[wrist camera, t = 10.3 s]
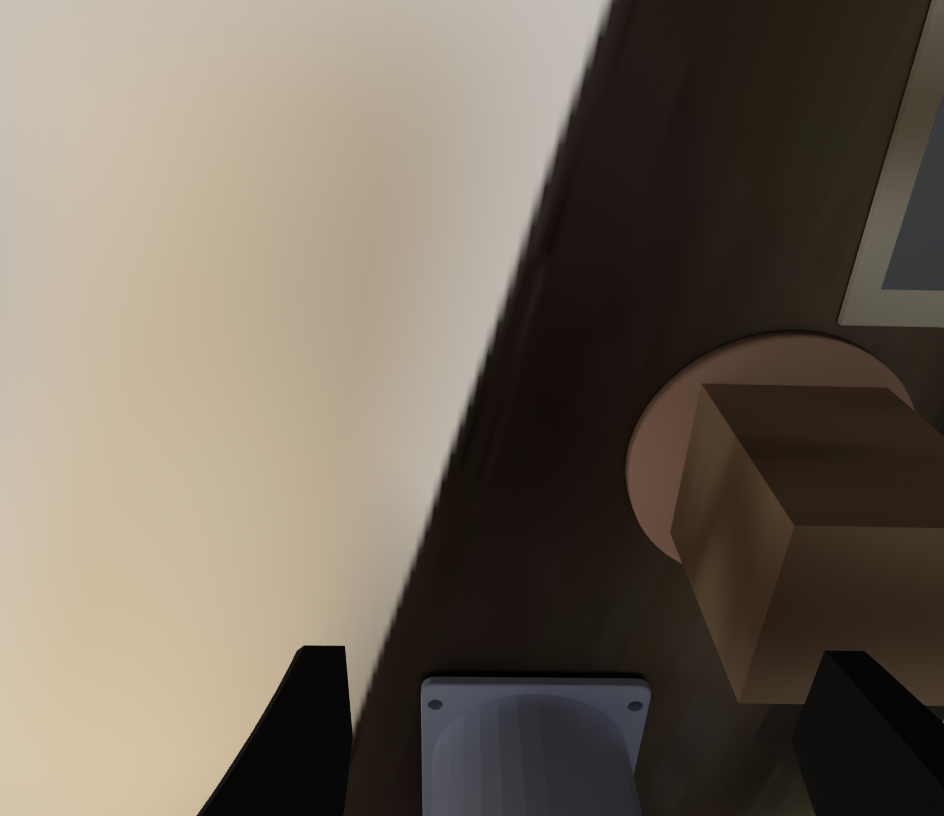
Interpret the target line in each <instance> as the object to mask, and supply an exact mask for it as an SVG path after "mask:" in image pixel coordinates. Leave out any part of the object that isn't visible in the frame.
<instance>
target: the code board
mask: <svg viewBox="0 0 944 816" xmlns="http://www.w3.org/2000/svg"><path fill="white" fill-rule="evenodd" d="M838 323H839V324H840V325H856V326H906V327H944V0H932V1H931V5H930V8H929V11H928V15H927V18H926V22H925V25H924V28H923V32H922V35H921V39H920V42H919V45H918V49H917V52H916V56H915V59H914V63H913V66H912V69H911V73H910V76H909V80H908V83H907V86H906V90H905V93H904V97H903V100H902V103H901V107H900V110H899V114H898V117H897V120H896V124H895V127H894V131H893V134H892V137H891V141H890V144H889V148H888V151H887V155H886V158H885V161H884V165H883V168H882V172H881V175H880V178H879V182H878V185H877V189H876V192H875V195H874V199H873V202H872V206H871V209H870V212H869V216H868V219H867V223H866V226H865V229H864V233H863V236H862V240H861V243H860V247H859V250H858V253H857V257H856V260H855V264H854V267H853V270H852V274H851V277H850V281H849V284H848V287H847V291H846V294H845V298H844V301H843V304H842V308H841V311H840V315H839V318H838Z"/></svg>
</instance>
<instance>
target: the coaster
mask: <svg viewBox="0 0 944 816" xmlns="http://www.w3.org/2000/svg"><path fill="white" fill-rule="evenodd" d="M701 383H703V384H747V385H790V386H834V387H877V388H889V389H890V390H891V391H892V392H893V393H894V394H895V395H897V396H898V397H899V398H900V399H901V400H902V401H904V402H905V403H906V404H907V405H908V406H909V407H910V408H912V409H913V410H914V407H913V404H912V402H911V399H910V396H909V394H908V393H907V391H906V389H905V388H904V386H903V384H902V383H901V381H900V380H899V379H898V378H897V377H896V376H895V375H894V374H893V372H892V371H891V370H890V369H888V368H887V367H886V366H885V365H884V364H882V363H881V362H880V361H879V360H877V359H876V358H875V357H874V356H872V355H871V354H870V353H869V352H867V351H866V350H864V349H863V348H861V347H859V346H857V345H855V344H854V343H852V342H849V341H847V340H844V339H841V338H839V337H836V336H832V335H828V334H823V333H819V332H810V331H798V330H795V331H776V332H769V333H763V334H757V335H753V336H750V337H746V338H742V339H739V340H736V341H733V342H731V343H728V344H726V345H723V346H721V347H718V348H716V349H714V350H713V351H711V352H709V353H707V354H705V355H703V356H701V357H699V358H698V359H696V360H695V361H694V362H692V363H691V364H689V365H688V366H686V367H685V368H683V369H682V370H681V371H680V372H678V373H677V374H676V375H675V376H674V377H673V378H671V379H670V380H669V381H668V382H667V383H666V384H665V385H664V386H663V387H662V388H661V390H660V391H659V392H658V393H657V394H656V395H655V396H654V398H653V399H652V400H651V402H650V403H649V404H648V406H647V407H646V408H645V410H644V412H643V413H642V415H641V417H640V419H639V421H638V422H637V424H636V426H635V429H634V432H633V434H632V437H631V439H630V443H629V447H628V451H627V456H626V467H625V474H626V486H627V490H628V494H629V498H630V501H631V504H632V507H633V510H634V512H635V515H636V517H637V519H638V522H639V524H640V526H641V527H642V529H643V530H644V532H645V533H646V535H647V536H648V537H649V538H650V540H651V541H652V542H653V543H654V544H655V545H656V546H657V547H658V548H659V549H661V550H662V551H663V552H664V553H665V554H667V555H668V556H670V557H671V558H673V559H675V560H676V561H678V562H680V563H682V562H681V559H680V557H679V554H678V552H677V549H676V547H675V544H674V542H673V539H672V537H671V534H670V531H671V526H672V521H673V516H674V512H675V507H676V502H677V497H678V493H679V488H680V483H681V478H682V473H683V469H684V464H685V459H686V454H687V450H688V445H689V440H690V435H691V431H692V426H693V421H694V416H695V411H696V407H697V402H698V397H699V392H700V388H701ZM914 411H915V410H914Z"/></svg>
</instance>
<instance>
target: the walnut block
mask: <svg viewBox="0 0 944 816" xmlns="http://www.w3.org/2000/svg"><path fill="white" fill-rule="evenodd" d="M670 534H671V537H672V539H673V542H674V544H675V547H676V549H677V552H678V554H679V557H680V559H681V562H682V564H683V567H684V569H685V572H686V574H687V577H688V579H689V582H690V584H691V587H692V589H693V591H694V594H695V596H696V599H697V601H698V604H699V606H700V609H701V611H702V614H703V616H704V619H705V621H706V624H707V626H708V629H709V631H710V634H711V636H712V639H713V641H714V644H715V646H716V649H717V651H718V654H719V656H720V659H721V661H722V664H723V666H724V669H725V671H726V674H727V676H728V679H729V681H730V684H731V686H732V688H733V691H734V693H735V696H736V698H737V701H738V703H763V704H805V701H806V699H807V696H808V693H809V691H810V688H811V685H812V683H813V680H814V677H815V675H816V672H817V669H818V667H819V664H820V661H821V659H822V656H823V653H824V651H865V652H866V653H868V654H869V655H870V656H871V657H872V658H873V659H874V660H875V661H877V662H878V663H879V664H880V665H881V666H882V667H883V668H884V669H885V670H887V671H888V672H889V673H890V674H891V675H892V676H893V677H894V678H895V679H896V680H897V681H899V682H900V683H901V684H902V685H903V686H904V687H905V688H906V689H907V690H908V691H909V692H910V693H912V694H913V695H914V696H915V697H916V698H917V699H918V700H919V701H920V702H921V703H922V704H923V705H926V706H944V436H943V435H942V434H940V433H939V432H938V431H937V430H936V429H935V428H933V427H932V426H931V425H930V424H929V423H928V422H927V421H925V420H924V419H923V418H922V417H921V416H920V415H919V414H917V413H916V412H915V411H914V410H913V409H912V408H910V407H909V406H908V405H907V404H906V403H905V402H904V401H902V400H901V399H900V398H899V397H898V396H897V395H895V394H894V393H893V392H892V391H891V390H890V389H889V388H877V387H834V386H790V385H747V384H703V383H701V388H700V392H699V397H698V402H697V407H696V411H695V416H694V421H693V426H692V431H691V435H690V440H689V445H688V450H687V454H686V459H685V464H684V469H683V473H682V478H681V483H680V488H679V493H678V497H677V502H676V507H675V512H674V516H673V521H672V526H671V531H670Z"/></svg>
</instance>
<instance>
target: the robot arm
mask: <svg viewBox="0 0 944 816" xmlns="http://www.w3.org/2000/svg"><path fill="white" fill-rule="evenodd" d="M650 698H651V691H650V687H649V684H648V683H647V682H646V681H644V680H643V679H637V678H536V677H430V678H428V679H426V680H425V681H424V682H423V683H422V686H421V733H422V808H423V816H643V815H642V811H641V806H640V802H639V797H638V793H637V788H636V784H635V779H634V772H635V768H636V763H637V758H638V754H639V749H640V745H641V740H642V735H643V731H644V726H645V721H646V717H647V712H648V708H649V703H650ZM352 738H353V735H352V723H351V712H350V700H349V689H348V677H347V665H346V653H345V646H303V647H301V648H300V649H299V650H298V651H297V652H296V654H295V656H294V658H293V660H292V662H291V664H290V666H289V668H288V670H287V672H286V674H285V675H284V677H283V679H282V681H281V683H280V685H279V687H278V689H277V690H276V692H275V694H274V696H273V697H272V699H271V701H270V703H269V704H268V706H267V708H266V710H265V711H264V713H263V715H262V716H261V718H260V720H259V722H258V723H257V725H256V726H255V728H254V730H253V732H252V733H251V735H250V736H249V738H248V739H247V741H246V742H245V744H244V746H243V747H242V749H241V750H240V752H239V753H238V755H237V757H236V758H235V760H234V761H233V763H232V764H231V766H230V767H229V769H228V771H227V772H226V774H225V775H224V777H223V778H222V780H221V782H220V783H219V784H218V786H217V788H216V789H215V790H214V792H213V793H212V795H211V796H210V798H209V799H208V800H207V802H206V803H205V805H204V806H203V808H202V809H201V810H200V812H199V813H198V815H197V816H343V813H344V808H345V799H346V791H347V782H348V774H349V765H350V756H351V747H352ZM791 740H792V743H793V746H794V750H795V753H796V756H797V760H798V763H799V766H800V769H801V773H802V776H803V779H804V782H805V785H806V788H807V791H808V794H809V797H810V800H811V803H812V806H813V809H814V812H815V814H816V816H944V723H943V722H942V721H941V720H940V719H939V718H937V717H936V716H935V715H934V714H933V713H932V712H931V711H930V710H929V709H928V708H927V707H926V706H924V705H923V704H922V703H921V702H920V701H919V700H918V699H917V698H916V697H915V696H914V695H913V694H912V693H910V692H909V691H908V690H907V689H906V688H905V687H904V686H903V685H902V684H901V683H900V682H899V681H897V680H896V679H895V678H894V677H893V676H892V675H891V674H890V673H889V672H888V671H887V670H885V669H884V668H883V667H882V666H881V665H880V664H879V663H878V662H877V661H875V660H874V659H873V658H872V657H871V656H870V655H869V654H868V653H866V652H865V651H824V653H823V656H822V659H821V661H820V664H819V667H818V669H817V672H816V675H815V677H814V680H813V683H812V685H811V688H810V691H809V693H808V696H807V699H806V701H805V704H804V707H803V709H802V712H801V715H800V717H799V720H798V723H797V726H796V728H795V731H794V734H793V736H792V739H791Z"/></svg>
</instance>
